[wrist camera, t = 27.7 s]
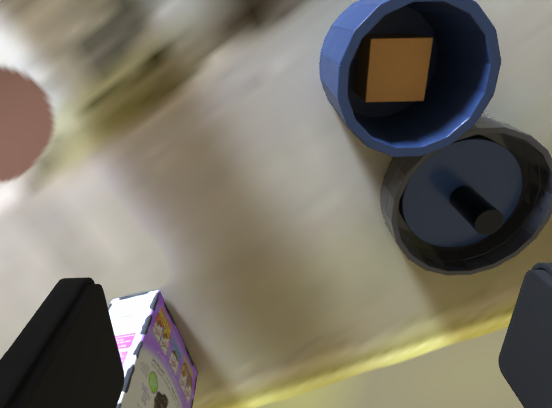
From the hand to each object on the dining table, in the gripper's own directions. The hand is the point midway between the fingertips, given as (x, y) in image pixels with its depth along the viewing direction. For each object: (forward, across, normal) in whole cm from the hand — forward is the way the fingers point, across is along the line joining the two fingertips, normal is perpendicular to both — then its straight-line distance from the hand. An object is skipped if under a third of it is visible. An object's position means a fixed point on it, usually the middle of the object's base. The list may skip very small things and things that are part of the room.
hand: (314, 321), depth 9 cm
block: (+28, -9, -2) cm, 29 cm away
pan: (+28, -18, +10) cm, 35 cm away
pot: (+28, -9, -2) cm, 30 cm away
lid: (+27, -18, +10) cm, 34 cm away
